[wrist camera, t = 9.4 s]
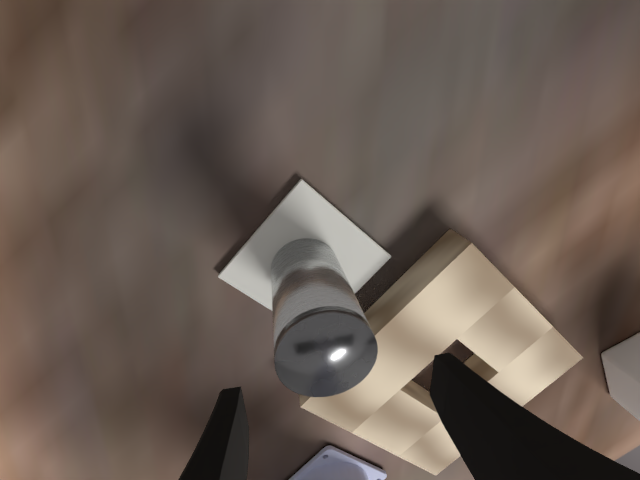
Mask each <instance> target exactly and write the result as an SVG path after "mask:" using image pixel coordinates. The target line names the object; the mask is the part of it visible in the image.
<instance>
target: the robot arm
mask: <svg viewBox="0 0 640 480" xmlns="http://www.w3.org/2000/svg"><path fill="white" fill-rule="evenodd" d="M430 397H431V399H432V401H433V404H434V406H435V408H436V411H437V413H438V415H439V417H440V419H441V422H442V424H443V425H444V427H445V429H446V431H447V432H448V434H449V436H450V438H451V439H452V441H453V443H454V445H455V446H456V448H457V450H458V452H459V453H460V455H461V457H462V458H463V460H464V462H465V463H466V465H467V467H468V469H469V470H470V472H471V474H472V475H473V477H474V479H475V480H640V474H639V473H637V472H635V471H633V470H631V469H629V468H627V467H625V466H623V465H621V464H619V463H617V462H615V461H613V460H611V459H609V458H607V457H605V456H604V455H602V454H600V453H598V452H596V451H594V450H592V449H590V448H589V447H587V446H585V445H583V444H581V443H580V442H578V441H576V440H574V439H573V438H571V437H569V436H568V435H566V434H564V433H563V432H561V431H559V430H558V429H556V428H554V427H553V426H551V425H549V424H548V423H546V422H545V421H543V420H541V419H540V418H538V417H537V416H535V415H534V414H532V413H531V412H529V411H528V410H526V409H525V408H523V407H522V406H520V405H519V404H517V403H516V402H515V401H513V400H512V399H510V398H509V397H508V396H506V395H505V394H503V393H502V392H501V391H499V390H498V389H497V388H495V387H494V386H492V385H491V384H490V383H488V382H487V381H486V380H484V379H483V378H482V377H481V376H479V375H478V374H477V373H475V372H474V371H473V370H471V369H470V368H469V367H468V366H466V365H465V364H464V363H462V362H461V361H460V360H458V359H457V358H456V357H455V356H453V355H452V354H451V353H446V354H439V355H435V356H434V364H433V372H432V380H431V388H430ZM248 457H249V426H248V421H247V416H246V411H245V406H244V401H243V396H242V390H241V387H235V388H229V389H223V390H222V391H221V392H220V394H219V397H218V400H217V402H216V405H215V407H214V410H213V412H212V414H211V417H210V419H209V421H208V423H207V425H206V428H205V430H204V432H203V434H202V436H201V438H200V440H199V442H198V444H197V446H196V448H195V450H194V452H193V454H192V456H191V458H190V460H189V462H188V463H187V465H186V467H185V469H184V471H183V472H182V474H181V476H180V478H179V480H247V470H248ZM386 477H387V474H386V471H384V470H382V469H380V468H378V467H376V466H374V465H372V464H370V463H367V462H365V461H363V460H361V459H359V458H357V457H355V456H352V455H350V454H348V453H346V452H344V451H342V450H340V449H338V448H335V447H333V446H331V445H328V446H326V447H324V448H323V449H322V450H321V451H320V452H319V453H318V454H316V455H315V456H314V457H313V458H312V459H311V460H310V461H309V462H308V463H306V464H305V465H304V466H303V467H302V468H301V469H300V470H299V471H298V472H296V473H295V474H294V475H293V476H292V477H291V478H290V479H289V480H384V479H385V478H386Z"/></svg>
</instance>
